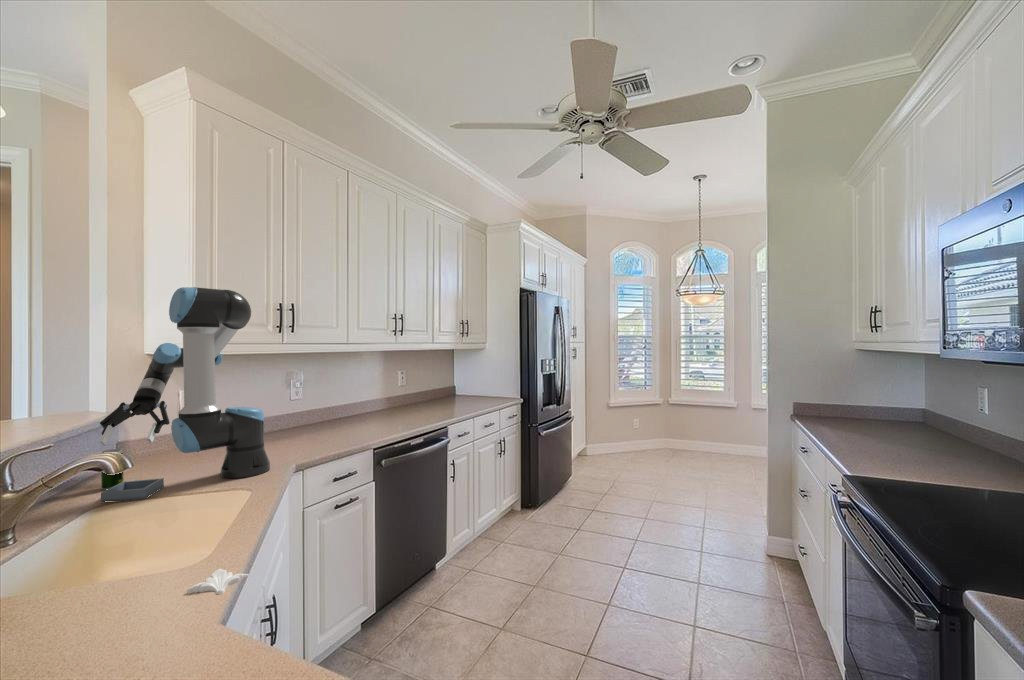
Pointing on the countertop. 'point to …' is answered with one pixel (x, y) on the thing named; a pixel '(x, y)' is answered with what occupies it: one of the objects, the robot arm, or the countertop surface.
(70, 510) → the countertop surface
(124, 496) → the tray
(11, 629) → the countertop surface
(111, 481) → the beer can
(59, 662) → the countertop surface
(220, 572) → the acanthus leaf ornament
